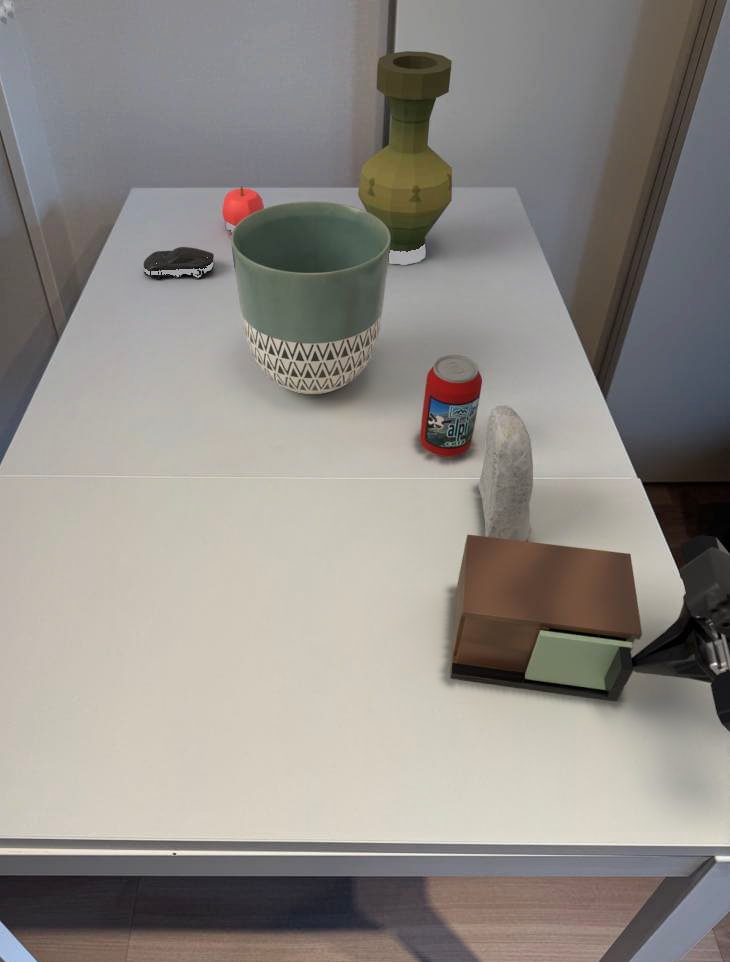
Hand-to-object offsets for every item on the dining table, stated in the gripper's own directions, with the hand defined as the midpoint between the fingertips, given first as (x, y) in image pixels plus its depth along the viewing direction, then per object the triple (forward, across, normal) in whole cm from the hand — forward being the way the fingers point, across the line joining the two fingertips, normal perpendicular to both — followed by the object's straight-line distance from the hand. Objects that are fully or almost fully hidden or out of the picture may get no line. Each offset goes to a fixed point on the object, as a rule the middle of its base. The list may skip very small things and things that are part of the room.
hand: (632, 666), depth 69 cm
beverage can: (+18, -37, -7) cm, 42 cm away
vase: (+26, -89, -15) cm, 94 cm away
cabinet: (+10, -7, 0) cm, 13 cm away
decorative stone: (+13, -25, -2) cm, 28 cm away
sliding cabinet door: (+7, 0, +1) cm, 7 cm away
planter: (+32, -49, -21) cm, 62 cm away
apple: (+46, -93, -36) cm, 110 cm away
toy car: (+52, -76, -41) cm, 101 cm away
